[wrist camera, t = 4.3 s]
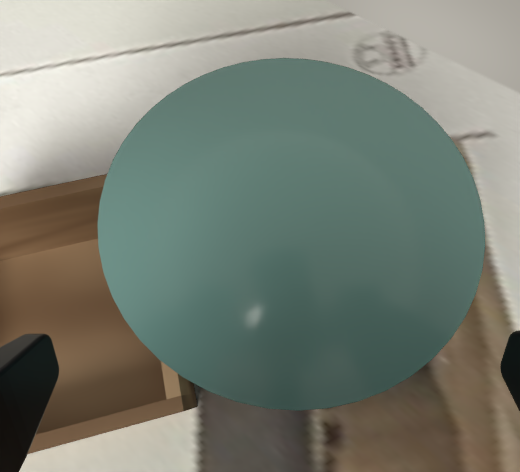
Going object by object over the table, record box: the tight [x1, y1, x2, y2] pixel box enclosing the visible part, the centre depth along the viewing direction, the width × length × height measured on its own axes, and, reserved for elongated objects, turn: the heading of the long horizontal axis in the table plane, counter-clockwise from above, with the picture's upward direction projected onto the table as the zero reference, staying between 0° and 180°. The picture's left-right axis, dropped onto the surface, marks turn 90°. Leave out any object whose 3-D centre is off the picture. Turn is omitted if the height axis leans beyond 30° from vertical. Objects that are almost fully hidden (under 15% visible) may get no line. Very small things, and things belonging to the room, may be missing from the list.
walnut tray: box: [0, 174, 197, 454], centre depth 14 cm, size 8×8×5 cm
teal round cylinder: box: [98, 58, 485, 410], centre depth 11 cm, size 5×5×12 cm
